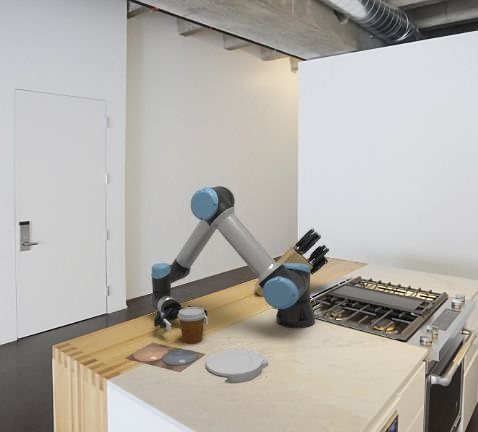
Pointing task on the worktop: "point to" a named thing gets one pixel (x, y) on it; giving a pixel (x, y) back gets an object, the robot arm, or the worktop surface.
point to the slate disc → (179, 357)
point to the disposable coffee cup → (191, 324)
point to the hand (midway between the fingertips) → (188, 324)
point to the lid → (236, 364)
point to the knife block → (296, 254)
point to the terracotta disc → (150, 354)
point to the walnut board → (161, 363)
